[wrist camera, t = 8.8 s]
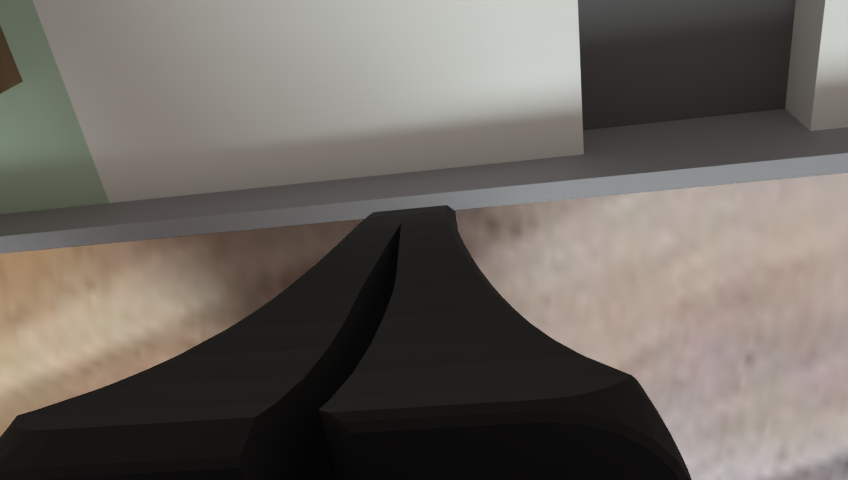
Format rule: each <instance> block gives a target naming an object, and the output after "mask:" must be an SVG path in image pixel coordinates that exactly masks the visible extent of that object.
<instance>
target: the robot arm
mask: <svg viewBox="0 0 848 480" xmlns="http://www.w3.org/2000/svg"><path fill="white" fill-rule="evenodd" d="M0 480H691V477H690V474H689V472H688V469H687V467H686V465H685V462H684V460H683V458H682V456H681V454H680V452H679V450H678V448H677V446H676V444H675V442H674V440H673V438H672V436H671V434H670V432H669V430H668V429H667V427H666V425H665V423H664V422H663V420H662V418H661V417H660V415H659V413H658V411H657V410H656V408H655V407H654V405H653V404H652V402H651V400H650V399H649V397H648V396H647V394H646V393H645V391H644V390H643V388H642V387H641V385H640V384H639V382H638V381H637V380H636V379H635V378H634V377H633V376H632V375H629V374H627V373H625V372H622V371H620V370H617V369H615V368H612V367H610V366H607V365H605V364H602V363H600V362H597V361H595V360H592V359H590V358H587V357H585V356H583V355H581V354H579V353H577V352H575V351H573V350H571V349H570V348H568V347H566V346H564V345H562V344H560V343H559V342H557V341H555V340H553V339H552V338H550V337H549V336H548V335H546V334H545V333H543V332H542V331H540V330H539V329H538V328H536V327H535V326H533V325H532V324H531V323H529V322H528V321H527V320H526V319H525V318H524V317H522V316H521V315H520V314H519V313H518V312H517V311H516V310H515V309H514V308H513V307H512V306H511V305H510V304H509V303H508V302H507V301H506V300H505V299H504V298H503V297H502V296H501V295H500V294H499V293H498V292H497V291H496V290H495V288H494V287H493V286H492V285H491V284H490V282H489V281H488V280H487V278H486V277H485V276H484V274H483V273H482V272H481V270H480V269H479V268H478V266H477V265H476V263H475V262H474V260H473V258H472V257H471V255H470V253H469V252H468V250H467V248H466V247H465V245H464V243H463V241H462V239H461V237H460V234H459V232H458V229H457V222H456V215H455V211H454V210H453V209H452V208H451V207H449V206H448V205H442V206H432V207H421V208H411V209H401V210H390V211H380V212H373V213H372V214H370V215H369V216H368V217H366V218H365V219H364V220H363V221H362V222H361V223H360V224H359V225H358V226H357V227H356V228H355V229H354V230H352V231H351V232H350V233H349V234H348V235H347V236H346V237H345V238H344V239H343V240H342V241H341V242H340V243H339V244H338V245H337V246H335V247H334V248H333V249H332V250H331V251H330V252H329V253H328V254H327V255H326V256H325V257H324V258H323V259H321V260H320V261H319V262H318V263H317V264H316V265H315V266H313V267H312V268H311V269H310V270H309V271H307V272H306V273H305V274H304V275H302V276H301V277H300V278H299V279H298V280H296V281H295V282H294V283H293V284H292V285H290V286H289V287H288V288H287V289H285V290H284V291H283V292H282V293H280V294H279V295H278V296H276V297H275V298H274V299H272V300H271V301H270V302H268V303H267V304H265V305H264V306H262V307H261V308H260V309H258V310H257V311H255V312H253V313H252V314H250V315H249V316H247V317H246V318H244V319H243V320H241V321H240V322H238V323H237V324H235V325H233V326H232V327H230V328H228V329H227V330H225V331H223V332H221V333H219V334H217V335H215V336H214V337H212V338H210V339H208V340H206V341H204V342H202V343H200V344H199V345H197V346H195V347H193V348H191V349H189V350H187V351H186V352H184V353H182V354H180V355H178V356H176V357H174V358H172V359H170V360H167V361H165V362H163V363H161V364H158V365H156V366H154V367H152V368H150V369H147V370H145V371H143V372H140V373H138V374H135V375H133V376H131V377H128V378H126V379H123V380H121V381H118V382H116V383H113V384H111V385H108V386H105V387H103V388H100V389H97V390H95V391H92V392H89V393H86V394H83V395H80V396H77V397H74V398H71V399H68V400H65V401H62V402H59V403H56V404H53V405H50V406H47V407H44V408H41V409H38V410H35V411H31V412H28V413H25V414H21V415H18V416H17V417H16V418H15V419H14V421H13V422H12V423H11V424H10V426H9V427H8V428H7V430H6V431H5V432H4V433H3V435H2V436H1V437H0Z"/></svg>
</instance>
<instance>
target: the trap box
mask: <svg viewBox="0 0 848 480" xmlns="http://www.w3.org/2000/svg"><path fill="white" fill-rule="evenodd" d="M0 26H1V28H2V31H3V33H4V36H5V38H6V41H7V43H8V46H9V48H10V51H11V53H12V56H13V58H14V61H15V63H16V66H17V68H18V71H19V73H20V76H21V78H22V81H23V82H21V83H19V84H17V85H16V86H14V87H12V88H10V89H8V90H6V91H4V92H3V93H1V94H0V254H1V253H11V252H22V251H32V250H43V249H53V248H64V247H74V246H85V245H95V244H106V243H116V242H127V241H137V240H148V239H158V238H169V237H179V236H190V235H200V234H210V233H221V232H231V231H242V230H252V229H263V228H273V227H284V226H294V225H305V224H315V223H326V222H336V221H347V220H357V219H365V218H366V217H368V216H369V215H370V214H372V213H373V212H380V211H390V210H401V209H411V208H421V207H432V206H442V205H448V206H449V207H451V208H452V209H453V210H462V209H472V208H483V207H493V206H504V205H514V204H525V203H535V202H546V201H556V200H567V199H577V198H588V197H598V196H609V195H619V194H630V193H640V192H651V191H661V190H672V189H682V188H693V187H703V186H714V185H724V184H734V183H745V182H755V181H766V180H776V179H787V178H797V177H808V176H818V175H829V174H839V173H848V0H0Z"/></svg>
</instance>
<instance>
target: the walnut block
mask: <svg viewBox="0 0 848 480" xmlns="http://www.w3.org/2000/svg"><path fill="white" fill-rule="evenodd" d="M21 82H23V81H22V78H21V76H20V73H19V71H18V68H17V66H16V63H15V61H14V58H13V56H12V53H11V51H10V48H9V46H8V43H7V41H6V38H5V36H4V33H3V31H2V28H1V26H0V94H1V93H3V92H4V91H6V90H8V89H10V88H12V87H14V86H16V85H17V84H19V83H21Z"/></svg>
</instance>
